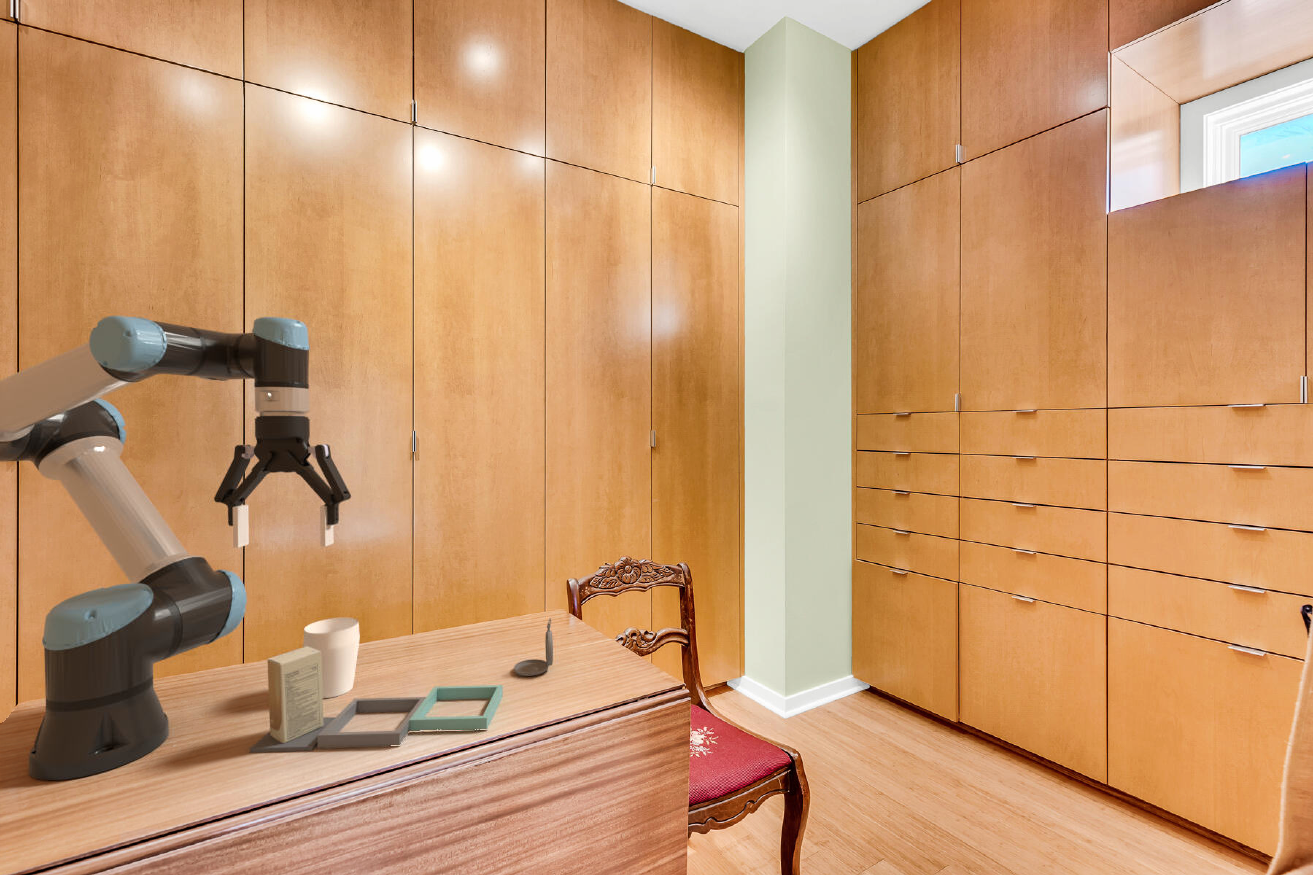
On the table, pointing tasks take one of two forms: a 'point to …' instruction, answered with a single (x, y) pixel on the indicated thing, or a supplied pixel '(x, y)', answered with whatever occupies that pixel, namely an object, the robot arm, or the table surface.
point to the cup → (335, 652)
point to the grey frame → (337, 739)
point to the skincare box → (295, 693)
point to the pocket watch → (537, 665)
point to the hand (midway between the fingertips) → (284, 545)
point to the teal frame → (457, 722)
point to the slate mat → (291, 741)
